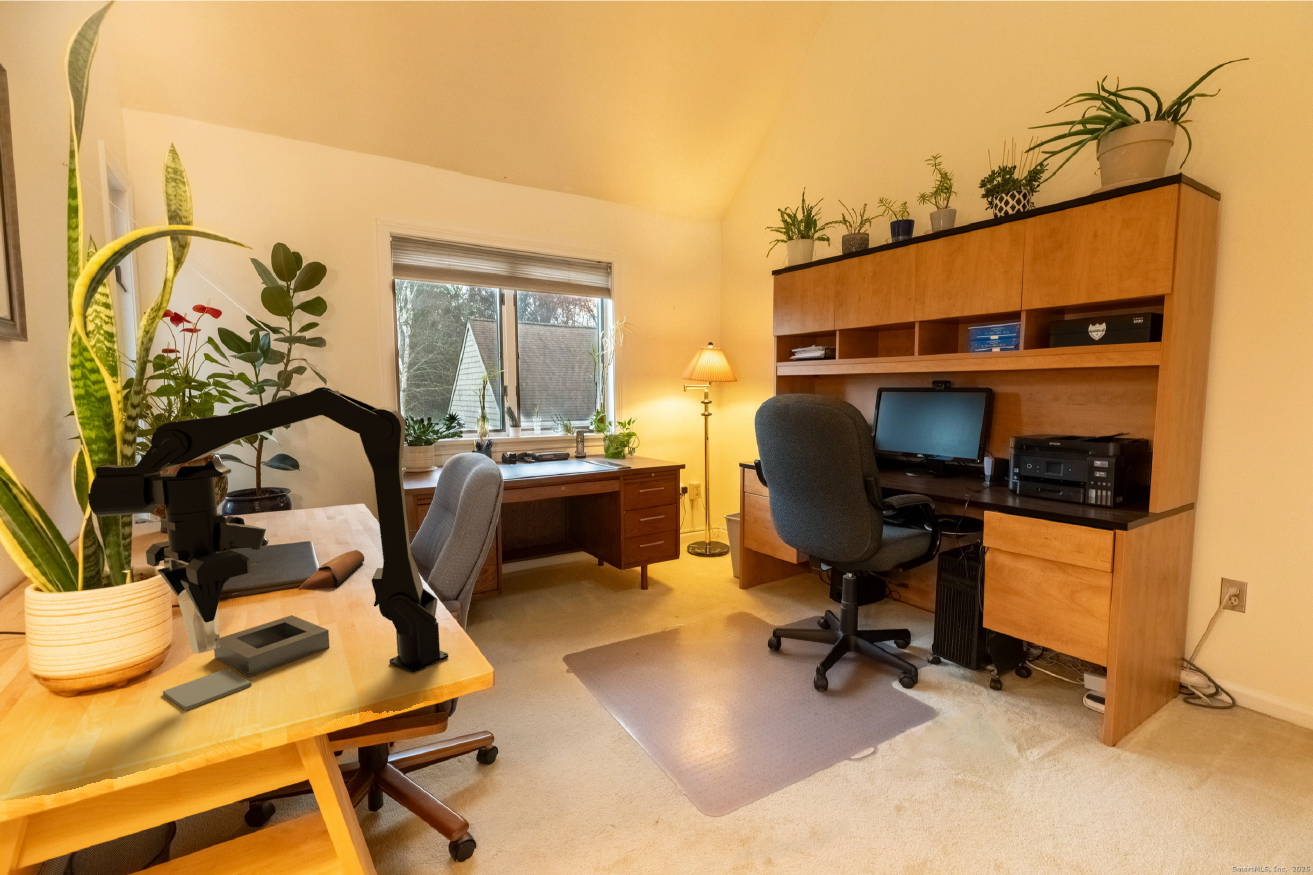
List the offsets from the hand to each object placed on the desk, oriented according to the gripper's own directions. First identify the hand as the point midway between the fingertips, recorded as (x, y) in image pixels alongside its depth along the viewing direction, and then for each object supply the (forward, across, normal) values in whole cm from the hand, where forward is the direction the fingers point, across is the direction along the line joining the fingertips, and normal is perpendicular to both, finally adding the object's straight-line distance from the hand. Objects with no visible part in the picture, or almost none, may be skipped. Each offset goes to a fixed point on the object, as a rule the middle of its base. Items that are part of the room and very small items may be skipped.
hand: (202, 617), depth 87 cm
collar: (+11, +5, -11) cm, 16 cm away
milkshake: (+5, -1, 0) cm, 5 cm away
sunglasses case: (+11, +36, -38) cm, 53 cm away
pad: (+11, 0, 0) cm, 11 cm away
